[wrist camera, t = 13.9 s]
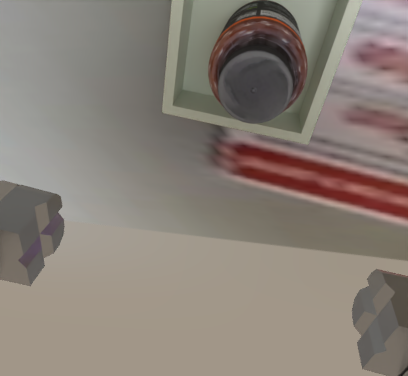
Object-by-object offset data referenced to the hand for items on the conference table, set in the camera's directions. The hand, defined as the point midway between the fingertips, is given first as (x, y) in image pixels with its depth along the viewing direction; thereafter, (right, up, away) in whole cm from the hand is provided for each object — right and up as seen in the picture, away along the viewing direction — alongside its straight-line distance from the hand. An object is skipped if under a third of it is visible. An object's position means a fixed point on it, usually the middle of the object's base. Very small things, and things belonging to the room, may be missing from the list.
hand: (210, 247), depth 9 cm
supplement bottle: (+4, +13, +19) cm, 23 cm away
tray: (+4, +14, +19) cm, 24 cm away
